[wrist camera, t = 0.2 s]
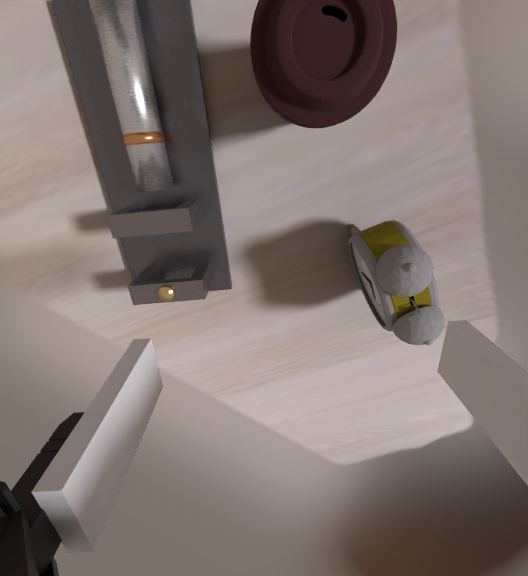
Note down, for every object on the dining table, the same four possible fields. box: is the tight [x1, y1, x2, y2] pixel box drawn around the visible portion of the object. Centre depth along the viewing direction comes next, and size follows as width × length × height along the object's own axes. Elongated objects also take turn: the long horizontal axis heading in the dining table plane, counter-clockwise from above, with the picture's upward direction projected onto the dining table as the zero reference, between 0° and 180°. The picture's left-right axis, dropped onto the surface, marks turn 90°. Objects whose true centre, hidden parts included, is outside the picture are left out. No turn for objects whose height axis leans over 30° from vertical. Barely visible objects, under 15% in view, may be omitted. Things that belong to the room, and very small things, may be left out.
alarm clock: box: [348, 220, 444, 345], centre depth 34 cm, size 12×7×15 cm, turn 23°
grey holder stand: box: [52, 0, 232, 305], centre depth 33 cm, size 32×13×8 cm, turn 5°
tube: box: [88, 0, 174, 192], centre depth 30 cm, size 18×4×4 cm, turn 5°
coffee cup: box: [250, 0, 397, 128], centre depth 26 cm, size 10×10×15 cm
